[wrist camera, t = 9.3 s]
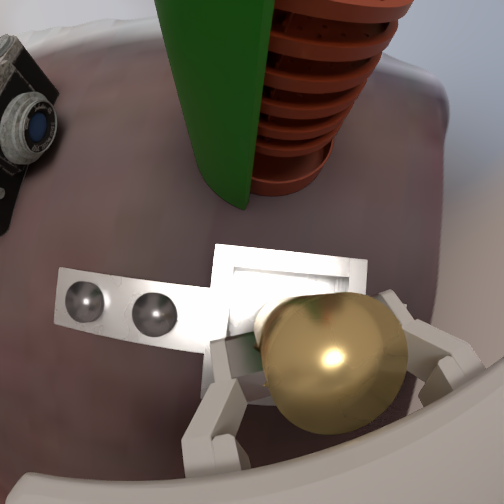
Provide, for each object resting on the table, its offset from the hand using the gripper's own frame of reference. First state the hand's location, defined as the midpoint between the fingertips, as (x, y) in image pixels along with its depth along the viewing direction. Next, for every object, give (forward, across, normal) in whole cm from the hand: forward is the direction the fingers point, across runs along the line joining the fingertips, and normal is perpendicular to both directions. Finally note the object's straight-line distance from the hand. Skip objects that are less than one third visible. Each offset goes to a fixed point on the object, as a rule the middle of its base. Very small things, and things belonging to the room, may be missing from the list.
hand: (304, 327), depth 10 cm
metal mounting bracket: (+6, +3, +5) cm, 9 cm away
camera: (+18, +16, -6) cm, 25 cm away
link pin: (+3, 0, +4) cm, 5 cm away
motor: (+14, -2, -2) cm, 14 cm away
